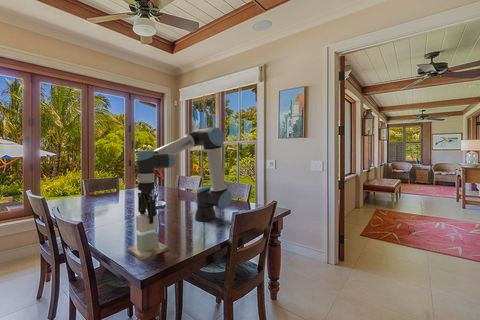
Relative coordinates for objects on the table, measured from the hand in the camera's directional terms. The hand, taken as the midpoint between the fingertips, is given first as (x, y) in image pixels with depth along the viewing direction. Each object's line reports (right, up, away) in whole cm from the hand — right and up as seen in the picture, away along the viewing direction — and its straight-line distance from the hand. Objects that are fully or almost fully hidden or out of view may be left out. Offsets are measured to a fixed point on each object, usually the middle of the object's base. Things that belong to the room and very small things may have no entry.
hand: (147, 228), depth 114 cm
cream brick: (0, 0, 0) cm, 0 cm away
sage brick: (0, -10, +1) cm, 10 cm away
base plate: (0, -11, +1) cm, 11 cm away
